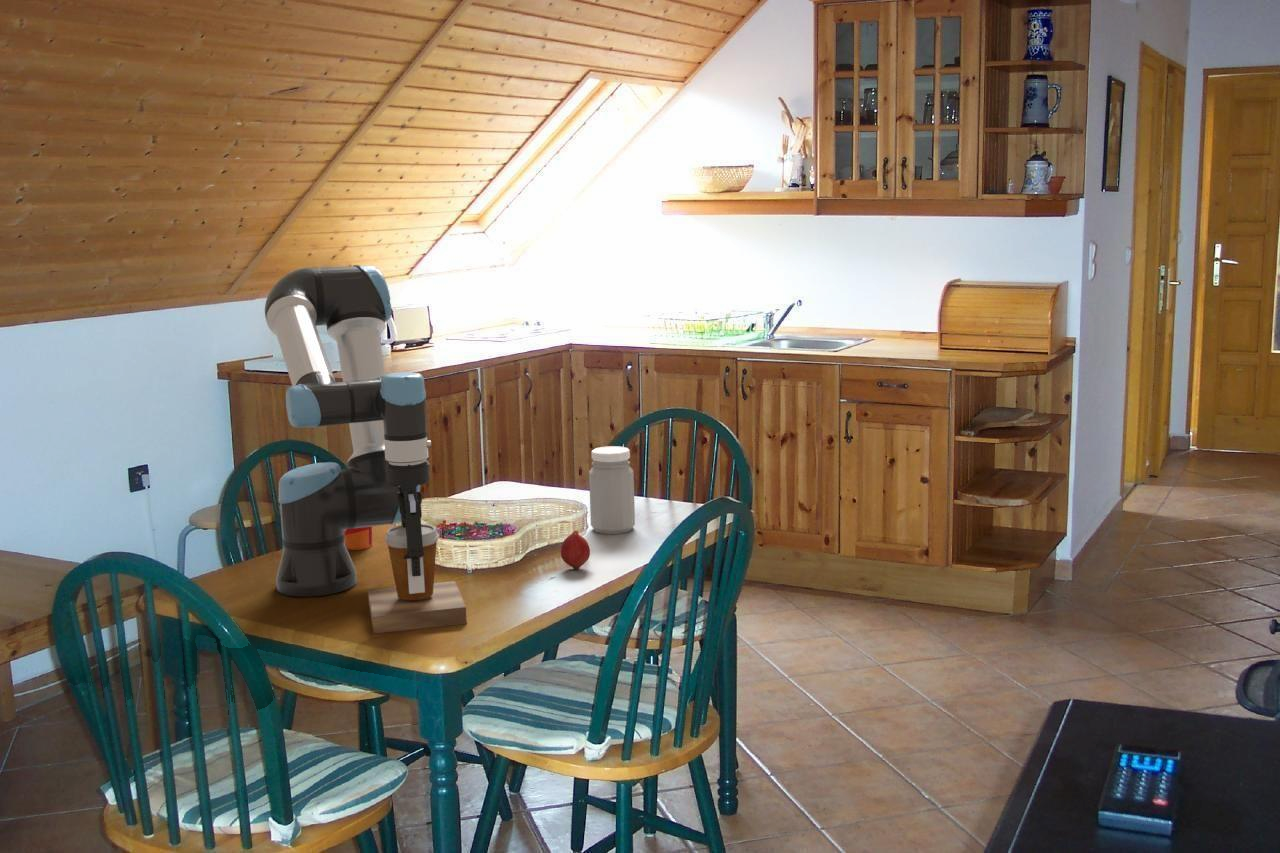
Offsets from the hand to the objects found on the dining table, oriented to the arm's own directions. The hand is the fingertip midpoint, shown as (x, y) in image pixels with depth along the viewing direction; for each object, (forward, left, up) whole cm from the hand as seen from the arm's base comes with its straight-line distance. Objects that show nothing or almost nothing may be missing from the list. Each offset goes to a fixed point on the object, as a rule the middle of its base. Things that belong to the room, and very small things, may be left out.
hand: (414, 585), depth 233 cm
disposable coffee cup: (0, 0, -2) cm, 2 cm away
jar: (-45, +47, -6) cm, 65 cm away
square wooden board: (0, 0, -5) cm, 5 cm away
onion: (-18, +33, -6) cm, 38 cm away
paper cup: (-50, -8, -6) cm, 51 cm away
